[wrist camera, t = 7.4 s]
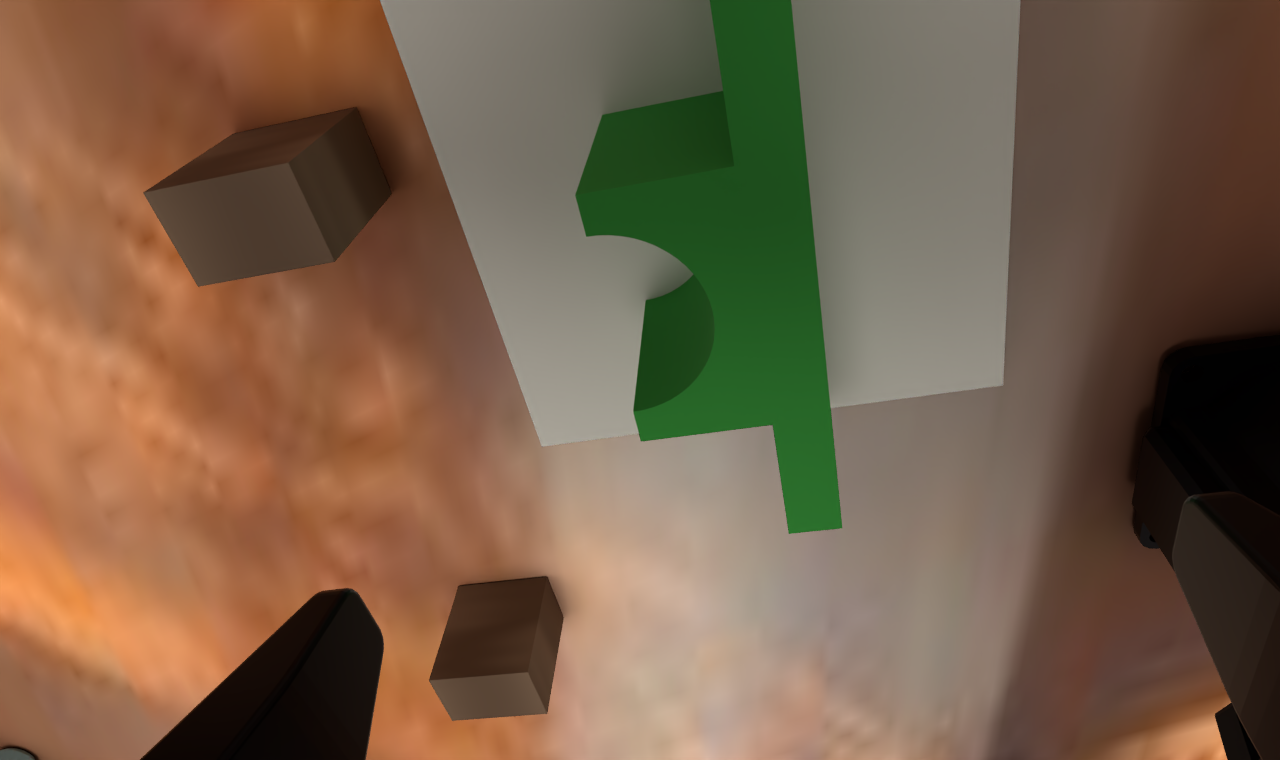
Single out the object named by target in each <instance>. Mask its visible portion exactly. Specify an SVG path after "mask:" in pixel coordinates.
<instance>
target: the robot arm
mask: <svg viewBox="0 0 1280 760" xmlns="http://www.w3.org/2000/svg"><path fill="white" fill-rule="evenodd" d="M1192 365H1194V367H1193V368H1192V369H1191V370H1189V371H1188V372H1185V373H1182V371H1183V370H1184V369H1186V368H1187V367H1189V366H1192ZM1132 505H1133V507H1134V509H1135V510H1136V516H1135V521H1134V527H1133V528H1134V533H1135V535H1136V536H1137V538H1138V539H1139V541H1140V543H1141V544H1142V545H1143V546H1145V547H1147V548H1156V549H1157V548H1160V549H1161V551H1162V552H1163V554H1164V555H1165V557H1166V559H1167V560H1168V562H1169V563H1170V565H1171V566H1172V568H1173V569H1174V571H1175V573H1176V576H1177V579H1178V581H1179V583H1180V586H1181V588H1182V590H1183V592H1184V595H1185V597H1186V599H1187V602H1188V604H1189V606H1190V609H1191V611H1192V613H1193V615H1194V618H1195V620H1196V622H1197V625H1198V627H1199V629H1200V632H1201V634H1202V636H1203V638H1204V641H1205V643H1206V645H1207V648H1208V650H1209V652H1210V655H1211V657H1212V659H1213V662H1214V664H1215V666H1216V668H1217V671H1218V673H1219V675H1220V678H1221V680H1222V682H1223V685H1224V687H1225V689H1226V691H1227V694H1228V696H1229V698H1230V700H1231V702H1232V703H1230V704H1229V705H1227V706H1226V707H1224V708H1223V709H1221V710H1220V711H1218V712H1217V713H1216V714H1215V718H1216V721H1217V725H1218V728H1219V732H1220V735H1221V739H1222V742H1223V745H1224V749H1225V752H1226V756H1227V759H1228V760H1280V335H1275V336H1268V337H1261V338H1253V339H1246V340H1238V341H1231V342H1224V343H1216V344H1209V345H1202V346H1194V347H1187V348H1183V349H1180V350H1177V351H1176V352H1174V353H1172V354H1171V355H1170V356H1169V357H1168V358H1167V359H1166V360H1165V361H1164V363H1163V365H1162V368H1161V374H1160V380H1159V385H1158V391H1157V397H1156V402H1155V408H1154V414H1153V419H1152V425H1151V428H1149V429H1148V431H1147V432H1146V434H1145V435H1144V437H1143V441H1142V447H1141V453H1140V458H1139V464H1138V470H1137V476H1136V482H1135V488H1134V493H1133V499H1132ZM383 650H384V642H383V636H382V633H381V630H380V628H379V626H378V625H377V623H376V621H375V620H374V618H373V617H372V615H371V613H370V612H369V610H368V608H367V607H366V605H365V603H364V602H363V600H362V598H361V597H360V595H359V594H358V593H357V592H356V591H354V590H353V589H349V588H344V589H335V590H326V591H321V592H319V593H317V594H315V595H314V596H313V597H312V598H311V599H310V600H308V601H307V602H306V603H305V604H304V605H303V606H302V607H301V608H300V609H299V610H298V611H297V612H296V613H295V614H294V615H293V616H292V617H290V618H289V619H288V620H287V621H286V622H285V623H284V624H283V625H282V626H281V627H280V628H279V629H278V630H277V631H276V632H275V633H274V634H272V635H271V636H270V637H269V638H268V639H267V640H266V641H265V642H264V643H263V644H262V645H261V646H260V647H259V648H258V649H257V650H256V651H254V652H253V653H252V654H251V655H250V656H249V657H248V658H247V659H246V660H245V661H244V662H243V663H242V664H241V665H240V666H239V667H238V668H236V669H235V670H234V671H233V672H232V673H231V674H230V675H229V676H228V677H227V678H226V679H225V680H224V681H223V682H222V683H221V684H219V685H218V686H217V687H216V688H215V689H214V690H213V691H212V692H211V693H210V694H209V695H208V696H207V697H206V698H205V699H204V700H203V701H201V702H200V703H199V704H198V705H197V706H196V707H195V708H194V709H193V710H192V711H191V712H190V713H189V714H188V715H187V716H186V717H185V718H183V719H182V720H181V721H180V722H179V723H178V724H177V725H176V726H175V727H174V728H173V729H172V730H171V731H170V732H169V733H168V734H167V735H165V736H164V737H163V738H162V739H161V740H160V741H159V742H158V743H157V744H156V745H155V746H154V747H153V748H152V749H151V750H150V751H149V752H147V753H146V754H145V755H144V756H143V757H142V758H141V759H140V760H366V755H367V749H368V743H369V737H370V731H371V725H372V718H373V712H374V706H375V700H376V694H377V688H378V682H379V676H380V670H381V664H382V658H383Z"/></svg>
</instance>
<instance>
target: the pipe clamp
mask: <svg viewBox="0 0 1280 760" xmlns="http://www.w3.org/2000/svg"><path fill="white" fill-rule="evenodd" d="M710 6H711V13H712V19H713V26H714V33H715V40H716V46H717V53H718V60H719V66H720V73H721V80H722V87H723V91H719V92H714V93H709V94H704V95H699V96H694V97H689V98H684V99H679V100H674V101H669V102H664V103H659V104H654V105H649V106H644V107H639V108H634V109H629V110H624V111H619V112H614V113H609V114H604V115H602V117H601V120H600V123H599V126H598V129H597V132H596V135H595V138H594V141H593V144H592V147H591V150H590V153H589V156H588V159H587V162H586V164H585V167H584V170H583V173H582V176H581V179H580V182H579V185H578V188H577V191H576V194H575V197H576V200H577V204H578V208H579V212H580V215H581V219H582V223H583V227H584V230H585V234H586V237H589V236H598V235H613V236H623V237H629V238H634V239H637V240H641V241H644V242H647V243H650V244H652V245H655V246H657V247H659V248H661V249H663V250H664V251H666V252H668V253H669V254H671V255H672V256H674V257H675V258H677V259H678V260H679V261H680V262H682V263H683V264H684V265H685V266H686V267H687V268H688V269H689V270H690V271H691V272H692V273H693V275H692V276H691V277H690V278H689V279H688V280H687V281H686V282H685V283H684V284H682V285H681V286H680V287H678V288H677V289H675V290H673V291H671V292H670V293H667V294H665V295H663V296H660V297H657V298H653V299H648V300H646V301H645V310H644V319H643V328H642V337H641V346H640V355H639V364H638V373H637V382H636V390H635V399H634V408H633V413H634V417H635V421H636V425H637V428H638V432H639V436H640V439H641V441H649V440H657V439H664V438H672V437H680V436H688V435H696V434H704V433H712V432H719V431H727V430H735V429H743V428H751V427H759V426H767V425H773V430H774V437H775V443H776V450H777V457H778V463H779V470H780V477H781V484H782V490H783V497H784V504H785V511H786V517H787V524H788V531H789V534H791V533H800V532H810V531H820V530H829V529H839V528H842V521H841V511H840V500H839V490H838V479H837V469H836V459H835V448H834V438H833V428H832V417H831V407H830V397H829V386H828V376H827V366H826V355H825V345H824V335H823V324H822V314H821V304H820V293H819V283H818V272H817V262H816V252H815V241H814V231H813V221H812V210H811V200H810V190H809V179H808V169H807V159H806V148H805V138H804V128H803V117H802V107H801V97H800V86H799V76H798V65H797V55H796V45H795V34H794V24H793V14H792V3H791V0H710Z"/></svg>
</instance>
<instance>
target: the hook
mask: <svg viewBox="0 0 1280 760" xmlns="http://www.w3.org/2000/svg"><path fill="white" fill-rule="evenodd" d="M0 760H35V758H34V757H33V756H32V755H31V754H30V753H28V752H26V751H24V750H20V749H16V748H7V749H3V750H0Z"/></svg>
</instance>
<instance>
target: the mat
mask: <svg viewBox="0 0 1280 760" xmlns="http://www.w3.org/2000/svg"><path fill="white" fill-rule="evenodd" d="M1020 1H1021V0H791V3H792V14H793V24H794V34H795V45H796V55H797V65H798V76H799V86H800V97H801V107H802V117H803V128H804V138H805V148H806V159H807V169H808V179H809V190H810V200H811V210H812V221H813V231H814V241H815V252H816V262H817V272H818V283H819V293H820V304H821V314H822V324H823V335H824V345H825V355H826V366H827V376H828V386H829V397H830V407H831V408H837V407H844V406H852V405H859V404H867V403H874V402H882V401H889V400H897V399H905V398H912V397H920V396H927V395H935V394H942V393H950V392H957V391H965V390H972V389H980V388H987V387H995V386H1002V385H1003V377H1004V355H1005V332H1006V310H1007V288H1008V266H1009V244H1010V222H1011V200H1012V178H1013V156H1014V134H1015V112H1016V90H1017V68H1018V45H1019V23H1020ZM380 2H381V5H382V7H383V10H384V13H385V16H386V18H387V21H388V24H389V27H390V29H391V32H392V35H393V38H394V41H395V43H396V46H397V49H398V52H399V54H400V57H401V60H402V63H403V65H404V68H405V71H406V74H407V76H408V79H409V82H410V85H411V87H412V90H413V93H414V96H415V98H416V101H417V104H418V107H419V109H420V112H421V115H422V118H423V120H424V123H425V126H426V129H427V131H428V134H429V137H430V140H431V142H432V145H433V148H434V151H435V153H436V156H437V159H438V162H439V164H440V167H441V170H442V173H443V176H444V178H445V181H446V184H447V187H448V189H449V192H450V195H451V198H452V200H453V203H454V206H455V209H456V211H457V214H458V217H459V220H460V222H461V225H462V228H463V231H464V233H465V236H466V239H467V242H468V244H469V247H470V250H471V253H472V255H473V258H474V261H475V264H476V266H477V269H478V272H479V275H480V277H481V280H482V283H483V286H484V288H485V291H486V294H487V297H488V299H489V302H490V305H491V308H492V310H493V313H494V316H495V319H496V322H497V324H498V327H499V330H500V333H501V335H502V338H503V341H504V344H505V346H506V349H507V352H508V355H509V357H510V360H511V363H512V366H513V368H514V371H515V374H516V377H517V379H518V382H519V385H520V388H521V390H522V393H523V396H524V399H525V401H526V404H527V407H528V410H529V412H530V415H531V418H532V421H533V423H534V426H535V429H536V432H537V434H538V437H539V440H540V443H541V445H542V447H543V446H551V445H558V444H566V443H573V442H581V441H589V440H596V439H604V438H611V437H619V436H626V435H634V434H639V432H638V428H637V425H636V421H635V417H634V413H633V408H634V399H635V390H636V382H637V373H638V364H639V355H640V346H641V337H642V328H643V319H644V310H645V301H646V300H648V299H653V298H657V297H660V296H663V295H665V294H667V293H670V292H671V291H673V290H675V289H677V288H678V287H680V286H681V285H682V284H684V283H685V282H686V281H687V280H688V279H689V278H690V277H691V276H692V275H693V273H692V272H691V271H690V270H689V269H688V268H687V267H686V266H685V265H684V264H683V263H682V262H680V261H679V260H678V259H677V258H675V257H674V256H672V255H671V254H669V253H668V252H666V251H664V250H663V249H661V248H659V247H657V246H655V245H652V244H650V243H647V242H644V241H641V240H637V239H634V238H629V237H623V236H613V235H598V236H589V237H586V234H585V230H584V227H583V223H582V219H581V215H580V212H579V208H578V204H577V200H576V197H575V194H576V191H577V188H578V185H579V182H580V179H581V176H582V173H583V170H584V167H585V164H586V162H587V159H588V156H589V153H590V150H591V147H592V144H593V141H594V138H595V135H596V132H597V129H598V126H599V123H600V120H601V117H602V115H604V114H609V113H614V112H619V111H624V110H629V109H634V108H639V107H644V106H649V105H654V104H659V103H664V102H669V101H674V100H679V99H684V98H689V97H694V96H699V95H704V94H709V93H714V92H719V91H723V87H722V80H721V73H720V66H719V60H718V53H717V46H716V40H715V33H714V26H713V19H712V13H711V6H710V0H380Z"/></svg>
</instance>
